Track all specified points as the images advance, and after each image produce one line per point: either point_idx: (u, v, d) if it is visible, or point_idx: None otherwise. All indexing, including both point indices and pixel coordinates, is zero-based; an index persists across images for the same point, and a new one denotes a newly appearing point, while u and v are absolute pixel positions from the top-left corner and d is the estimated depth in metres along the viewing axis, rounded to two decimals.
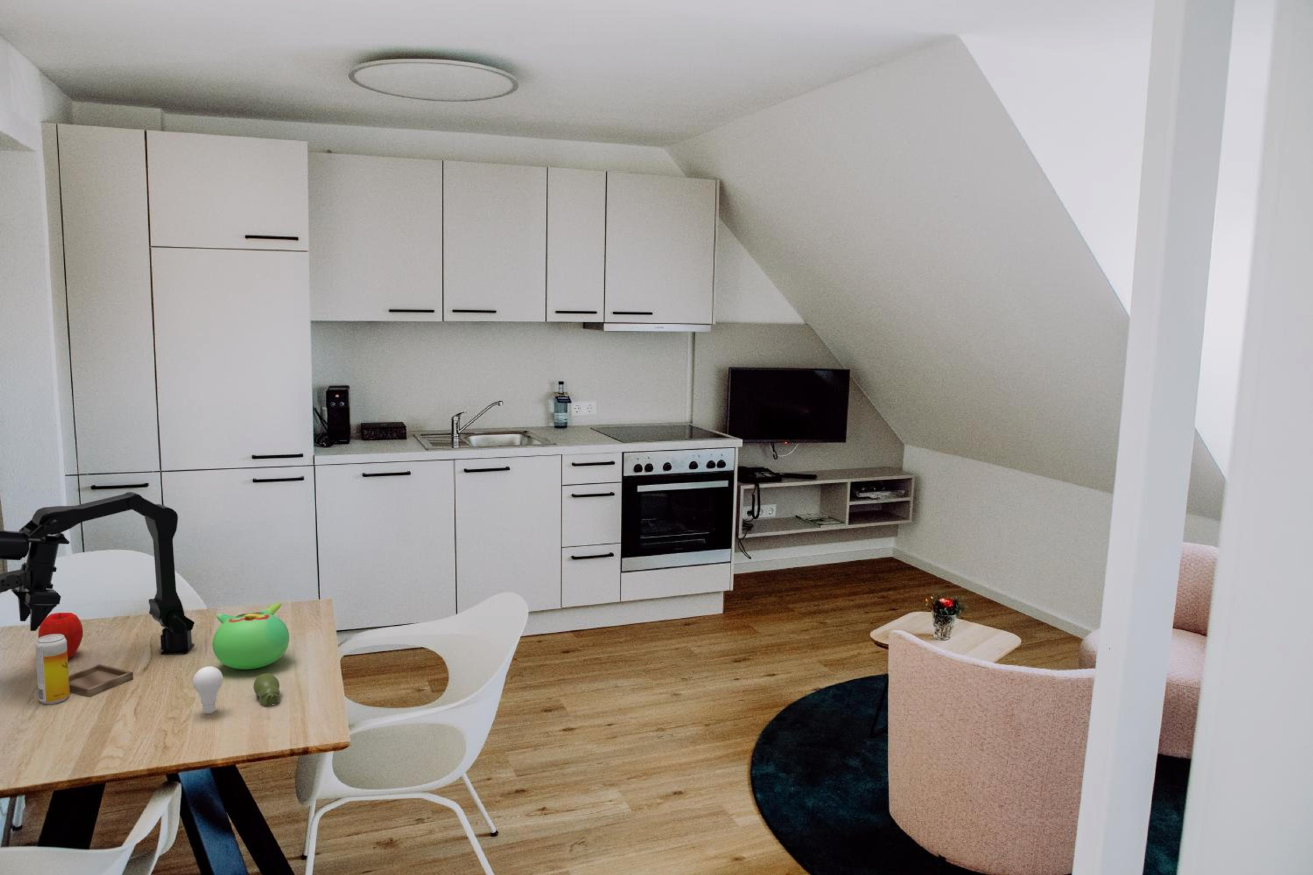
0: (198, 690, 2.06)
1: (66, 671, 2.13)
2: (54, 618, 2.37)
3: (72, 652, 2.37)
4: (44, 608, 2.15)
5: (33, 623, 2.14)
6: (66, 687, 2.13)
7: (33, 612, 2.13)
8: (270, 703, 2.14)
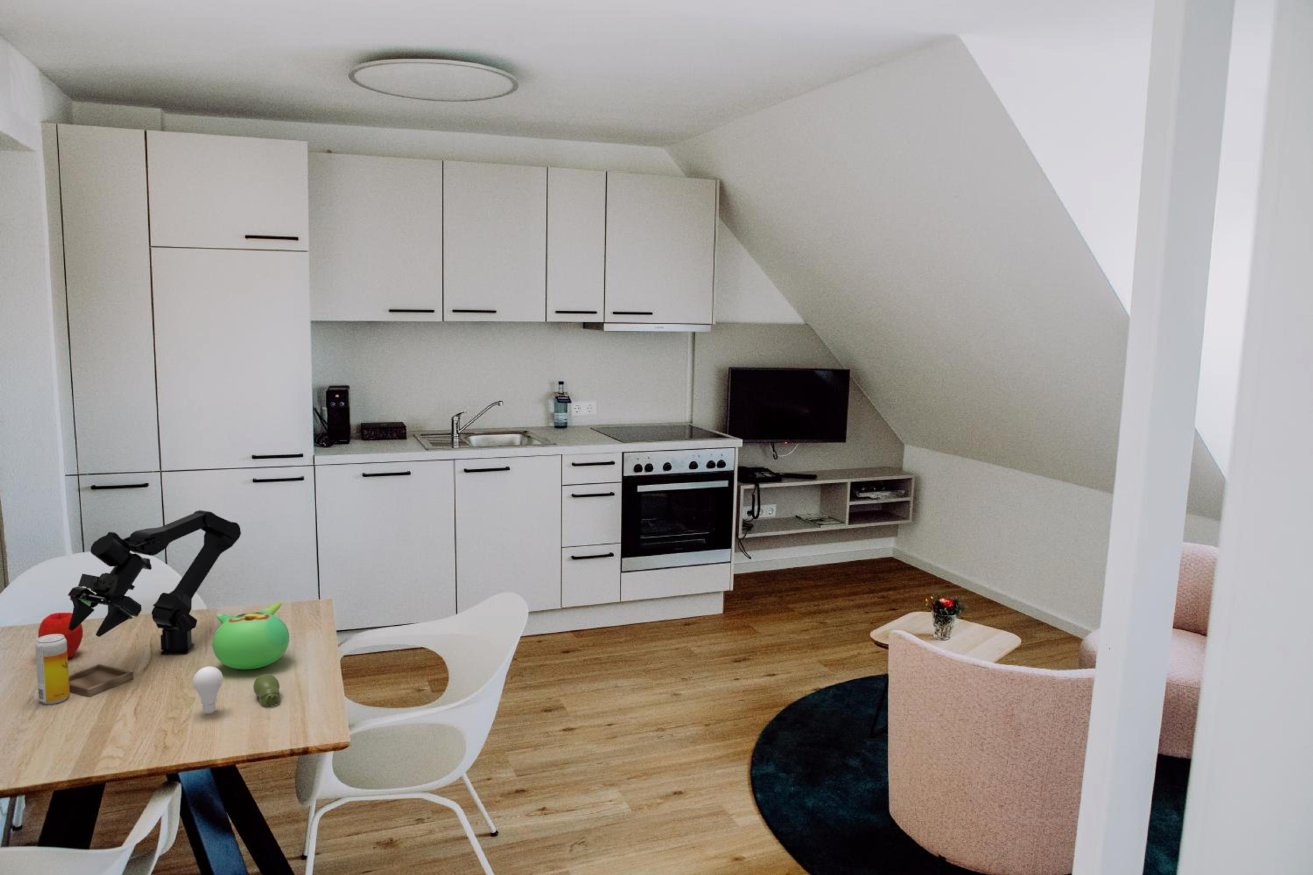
0: (198, 690, 2.06)
1: (66, 671, 2.13)
2: (54, 618, 2.37)
3: (72, 652, 2.37)
4: (118, 617, 2.21)
5: (103, 628, 2.18)
6: (66, 687, 2.13)
7: (111, 617, 2.19)
8: (270, 704, 2.14)
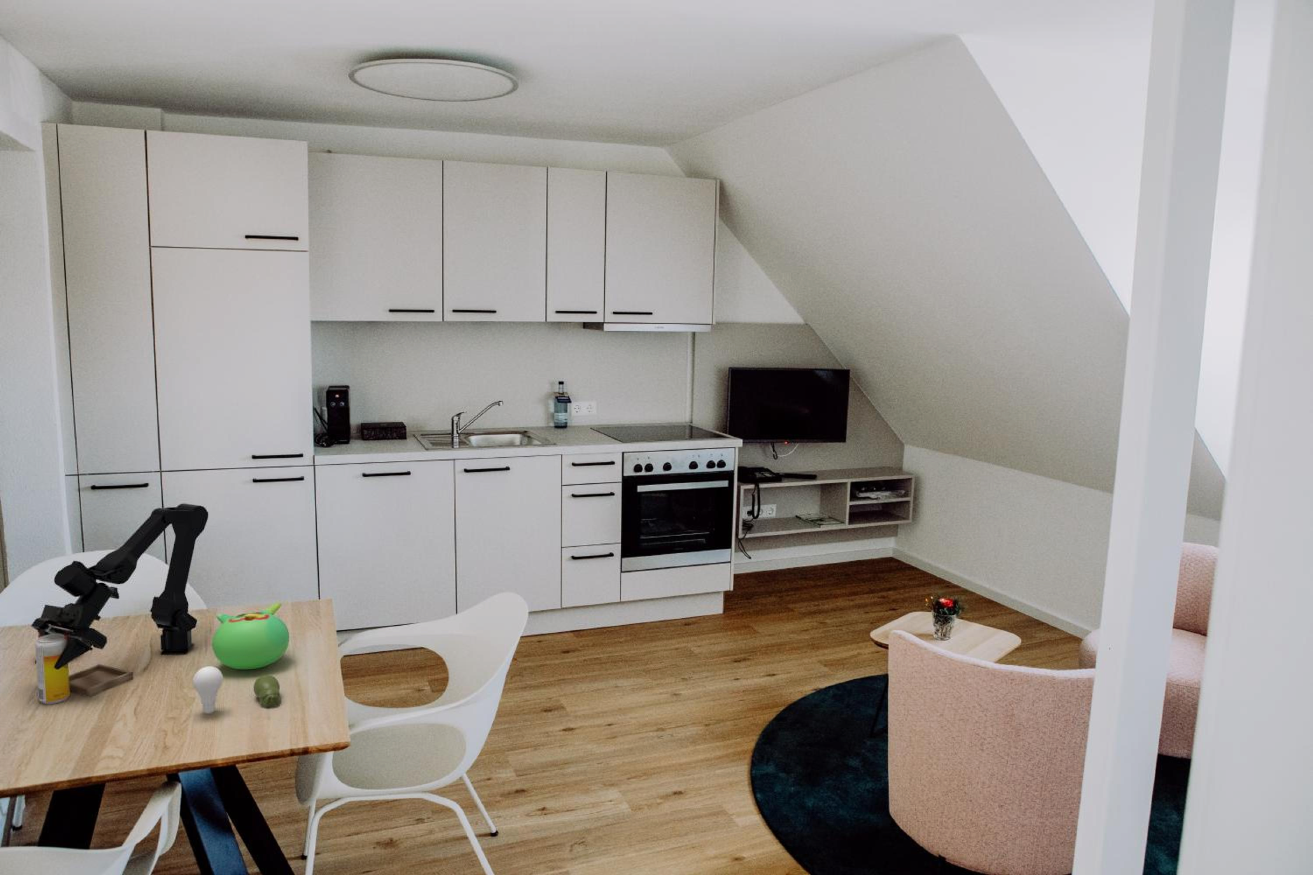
0: (198, 690, 2.06)
1: (66, 671, 2.13)
2: None
3: None
4: (78, 649, 2.14)
5: (62, 660, 2.11)
6: (66, 687, 2.13)
7: (70, 648, 2.12)
8: (271, 704, 2.14)
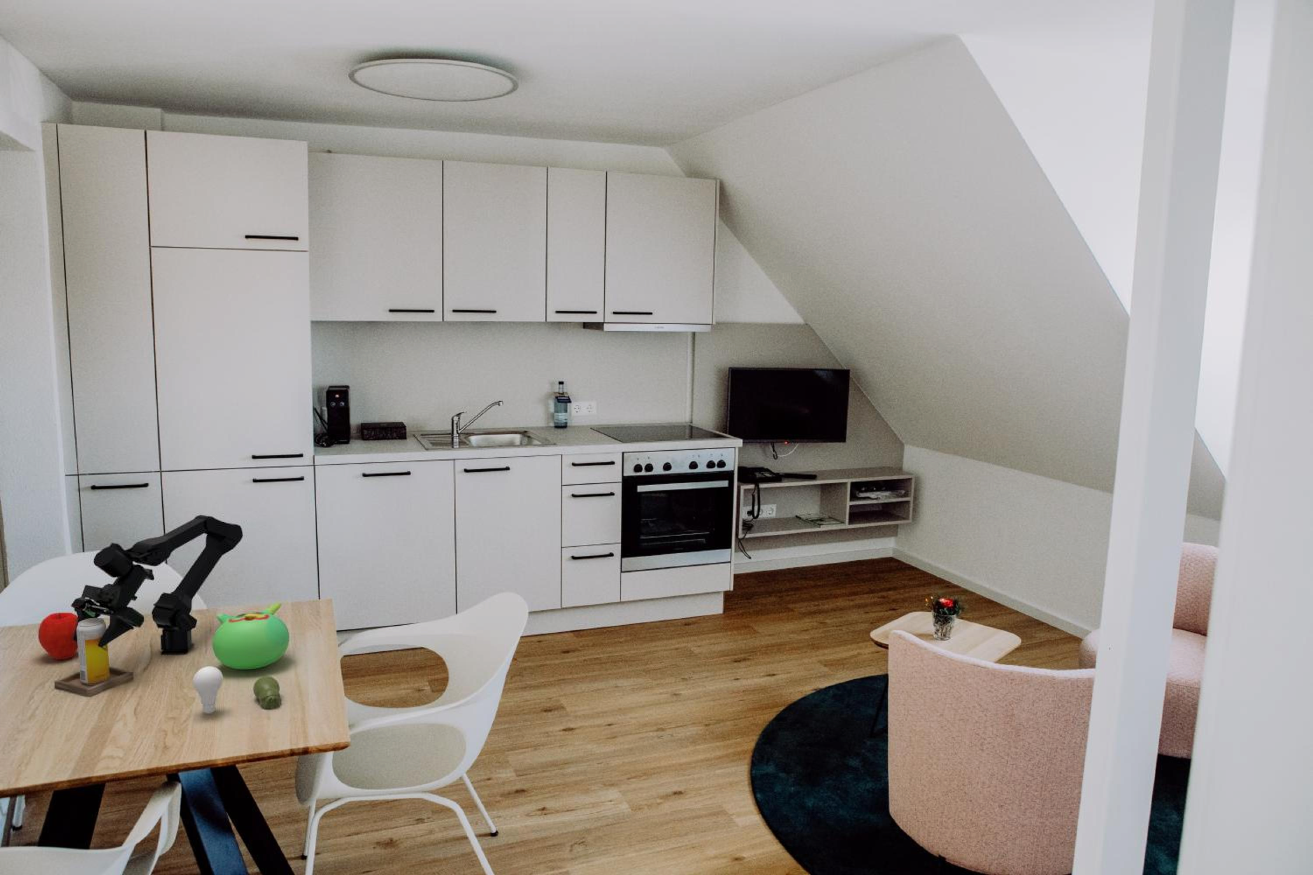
0: (198, 690, 2.06)
1: (106, 654, 2.22)
2: (54, 618, 2.37)
3: (72, 652, 2.37)
4: (120, 628, 2.22)
5: (105, 639, 2.20)
6: (106, 668, 2.23)
7: (113, 627, 2.20)
8: (271, 706, 2.13)
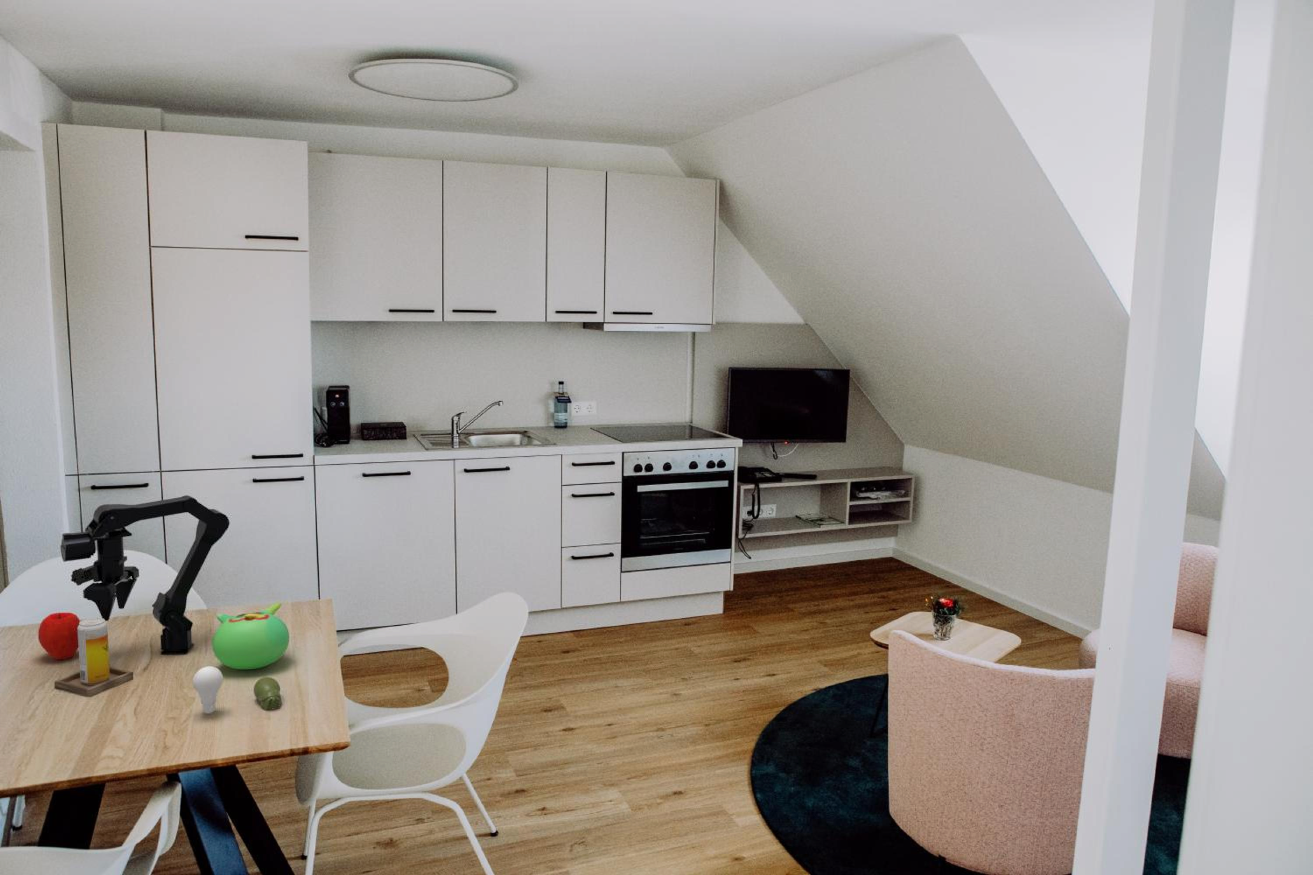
0: (198, 690, 2.06)
1: (106, 654, 2.23)
2: (54, 618, 2.37)
3: (72, 652, 2.37)
4: (107, 600, 2.27)
5: (102, 614, 2.28)
6: (106, 669, 2.23)
7: (97, 604, 2.27)
8: (271, 707, 2.13)
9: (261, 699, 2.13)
